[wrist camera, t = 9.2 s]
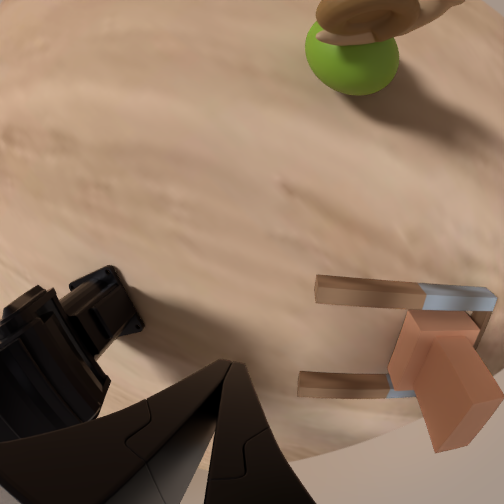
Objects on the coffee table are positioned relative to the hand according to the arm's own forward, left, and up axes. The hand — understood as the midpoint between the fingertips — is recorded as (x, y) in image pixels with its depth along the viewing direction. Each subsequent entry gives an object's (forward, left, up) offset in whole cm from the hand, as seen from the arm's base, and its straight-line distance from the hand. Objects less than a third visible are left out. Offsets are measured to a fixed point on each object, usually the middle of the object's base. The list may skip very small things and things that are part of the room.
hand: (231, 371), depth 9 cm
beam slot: (+8, -11, -12) cm, 18 cm away
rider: (+10, -12, -12) cm, 20 cm away
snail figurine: (+10, +10, -12) cm, 19 cm away
